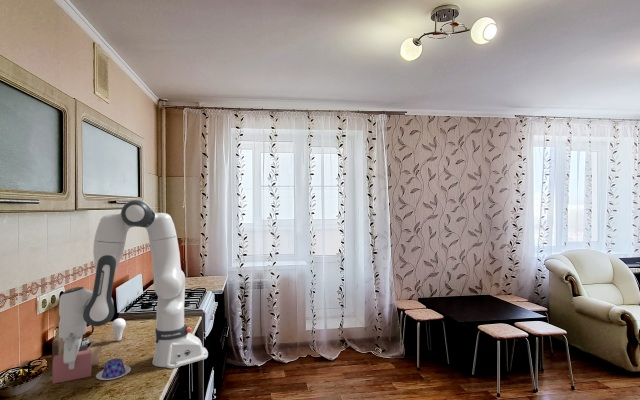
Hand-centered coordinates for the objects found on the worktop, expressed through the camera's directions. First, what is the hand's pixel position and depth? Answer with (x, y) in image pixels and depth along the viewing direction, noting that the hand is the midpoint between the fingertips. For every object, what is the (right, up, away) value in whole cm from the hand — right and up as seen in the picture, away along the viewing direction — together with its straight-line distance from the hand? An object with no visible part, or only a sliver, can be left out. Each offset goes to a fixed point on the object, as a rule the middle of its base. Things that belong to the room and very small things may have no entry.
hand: (72, 365), depth 137 cm
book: (0, -5, 0) cm, 5 cm away
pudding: (+14, -5, +3) cm, 15 cm away
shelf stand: (-8, -5, +15) cm, 18 cm away
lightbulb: (-3, -5, +37) cm, 37 cm away
